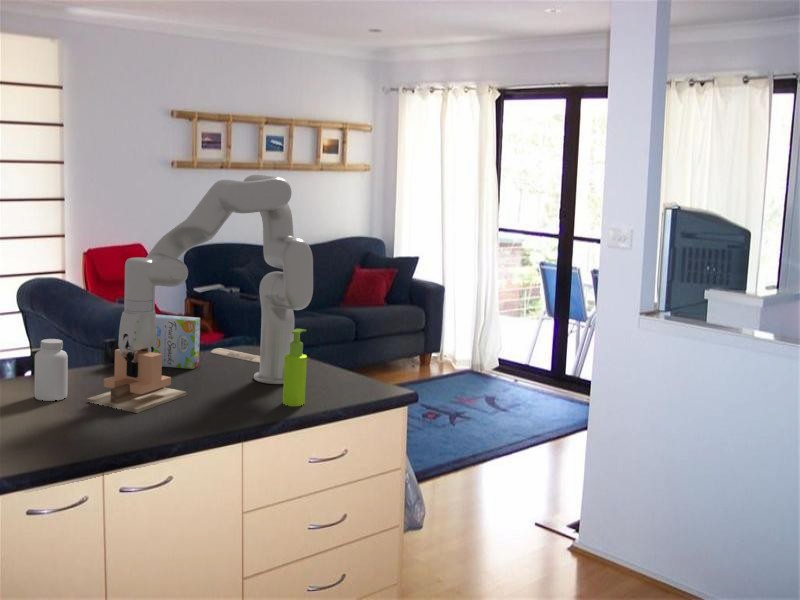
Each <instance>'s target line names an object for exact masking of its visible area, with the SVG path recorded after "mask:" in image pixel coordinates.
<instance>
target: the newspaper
mask: <svg viewBox="0 0 800 600" xmlns="http://www.w3.org/2000/svg"><path fill="white" fill-rule="evenodd" d="M210 354H213V355H218V356H223V357H228V358H232V359H237V360H241V361H245V362H247V361H248V362H252V363H256V364H260V355H258V354H257V355H256V354H250V353H246V352H241V351H237V350H232V349H227V348H221V347H216V348H213V349H212V350H211V351H210Z"/></svg>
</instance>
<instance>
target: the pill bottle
mask: <svg viewBox="0 0 800 600" xmlns="http://www.w3.org/2000/svg"><path fill="white" fill-rule="evenodd" d="M63 346H64V343H63V340H62V339H60V338H59V339H58V338H57V339H56V338H46V339H42V340H40V348H39V349H40V350H38V351H37V352H36V353H35V354H34V397H35V399H36V400H38V401H42V400H43V402H55V400H57V401H61V400H65V399H67V397H68V383H69V382H68V380H69V379H68V377H69V375H68V373H69V372H68V369H69V366H68V364H69V363H68V362H69V361H68V359H69V358H68V357H69V356H68V354H67V353H68V352H66V351H65V350H63V348H64V347H63ZM64 398H65V399H64Z"/></svg>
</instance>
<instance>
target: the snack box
mask: <svg viewBox="0 0 800 600" xmlns="http://www.w3.org/2000/svg"><path fill="white" fill-rule="evenodd" d="M156 324H157V343H158V345H157V346H156V348H155V349H154V351H153V353H159V354H162V368H163V367H165V368H176V369H177V368H178V369H187V370H188V369H189V370H194V369H196V368H198V367H199V366H200V344H201V343H200V340H201V339H200V338H201V337H200V336H201V317H194V316H181V315H166V314H156Z"/></svg>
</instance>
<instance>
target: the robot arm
mask: <svg viewBox="0 0 800 600" xmlns="http://www.w3.org/2000/svg"><path fill="white" fill-rule="evenodd" d="M291 198H292V187H291V185H290V183H289V182H288V181H287V180H286V179H284V178H282V177H277V176H271V175H266V174H265V175H263V174H251V175H249V176H247V177H245V178H244V180H243V181H242V180H241V181H240V180H233V179H220V180H217V181H216V182H214V184H212V186H211V187H210V188H209V189H208V190H207V191H206V193H205V194H204V196H203V197H202V198H201V200H200V201H199V202H198V204H196V206H195V208H194V209H193V210H192V211H191V213H190V214H189V215H188V216H187V218H186V219H184V220H183V221H182V222H180V223H179V224H177V225H176V226H175V227H174V228H172V229H171V230H169V231H168V232H166V233H165V234H164V235H163V236H162V237H161V238H159V240H158V241H157V242H156V244H155V245H154V246H153V248H152V249H151V250H150V251H149V253H148V254H147V256H146V257H141V256H140V257H138V256H137V257H130V258H127V259H126V261H125V264H124V300H123V301H124V302H123V303H124V304H123V305H124V310H123V311H122V313H121V317H120V322H119V323H120V324H119V331H118V332H119V333H118V349H120V350H119V354H121V355H122V356H123V357H124V358H125V361H127V372H126V375H127V376H129V377H134V378H136V377H138V362H136V360H137V353H138V350H142V351H148V352H153V351H154V349H155V348H156V346H157V345H158V343H157V324H156V315H157V313H156V310H155V309H156V308H155V301H156V296H155V295H156V286H159V287H170V288H172V287H173V288H174V287H178V286H181V285H182V284H183V283H185V281H186V280H187V279H188V275H189V269H188V267H187V265H186V264H185V263H184V262H183V261H182V260H180V259H179V258H180V257H181V256H182V255H183V254H184V253H185V252H187V251H188V250H190V249H191V248H193V247H196V246H198V245H202V244H204V243H207V242H209V241H210V240H213V238H215V236H216V234H217V233H218V232H219V230H220V229H221V228H222V227H223V225H224V224H225V223H226V221H227V220H228V219H229V217H230V216H232V214H233V213H235V214H253V213H259V214H260V217H261V222H262V242H263V243H262V244H263V245H262V247H263V249H262V250H263V251H262V253H263V259H264V261H265V263H266V264H267V265H269V266H271V267H273V268H276V269H279V270H280V269H281V270H282V271H271V272H268V273H267V274H265V275H264V276H263V278H262V279H261V280H260V283H259V288H258V289H259V292H258V293H259V299H260V300H259V301H260V308H261V310H260V311H261V321H260V323H261V326H260V327H261V328H260V347H259V348H260V350H259V351H260V352H259V353H260V354H259V356H260V363H259V371H257V372H254V375H253V379H254V380H255V381H257V382H258V383H263V384H269V385H284V361H285V355H286V354H289V353H290V342H292V341H293V338H294V334H292V331H293V330H295V322H296V321H295V314H294V311H301V310H304V309H306V308H307V307H308V306H309V304H310V303H311V301H312V297H313V293H314V256H313V252H312V249H311V246H309V244H308V242H307V241H305V240H304V239H301V238H299V237H295V236H294V223H293V221H294V220H293V214H292V210H291V208H290V206H289V202H290V200H291ZM131 352H133V355H131V354H130V353H131Z"/></svg>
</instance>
